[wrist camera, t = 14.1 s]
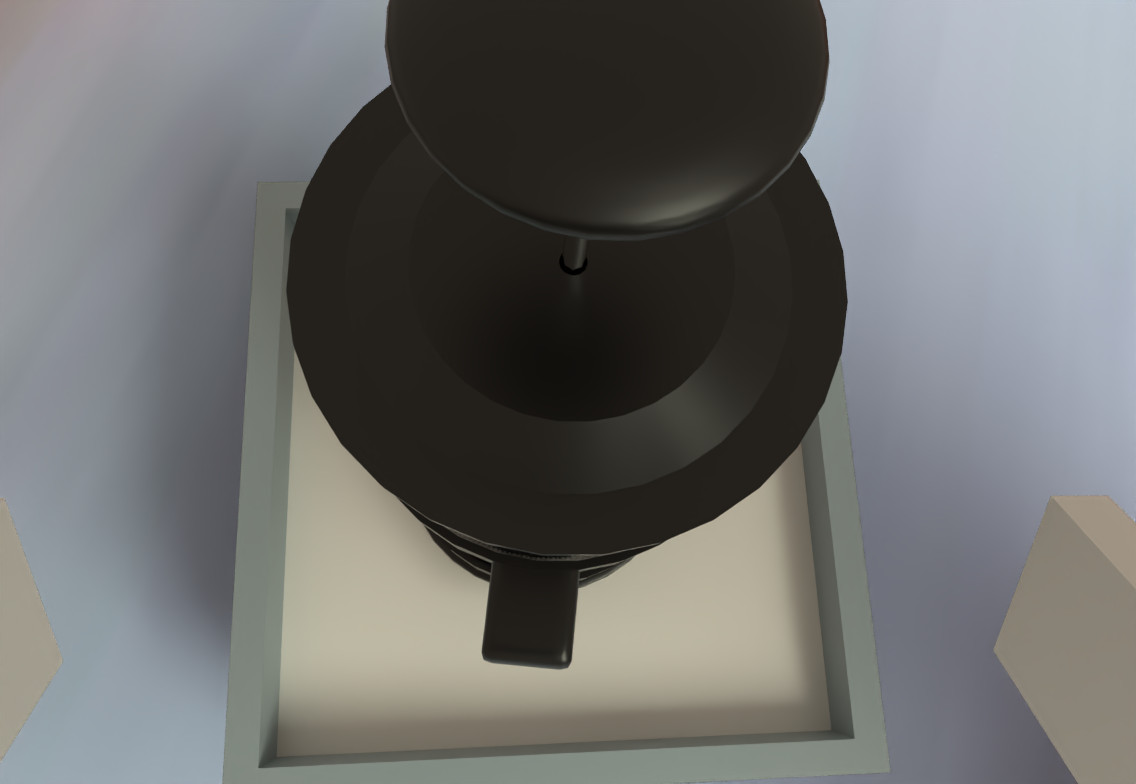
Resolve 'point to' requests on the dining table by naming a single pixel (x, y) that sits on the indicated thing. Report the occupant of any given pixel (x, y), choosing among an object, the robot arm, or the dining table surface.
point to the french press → (573, 282)
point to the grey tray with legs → (602, 628)
